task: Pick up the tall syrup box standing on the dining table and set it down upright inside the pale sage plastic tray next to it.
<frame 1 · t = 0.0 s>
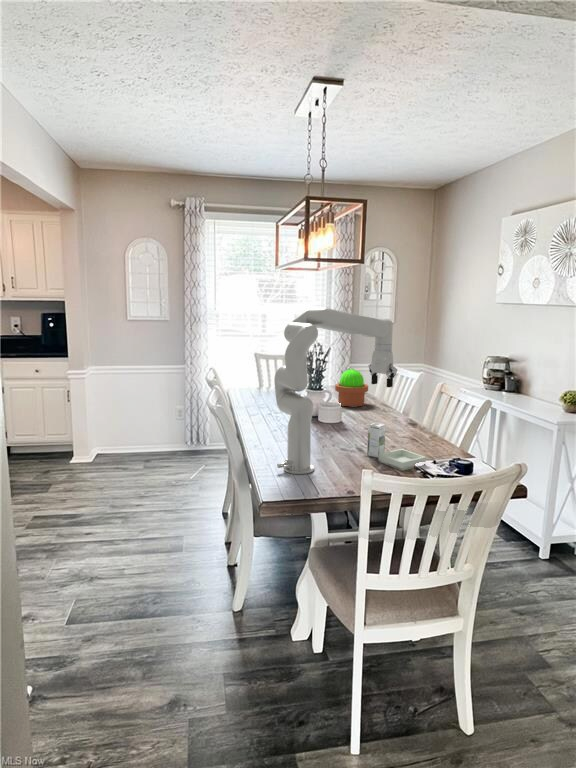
hand: (381, 385, 216), 31 cm above the table, tool pointing down, fingers open, 9 cm apart
potted cactus: (351, 405, 323), on the table
tray: (401, 463, 205), on the table
syrup box: (375, 455, 216), on the table
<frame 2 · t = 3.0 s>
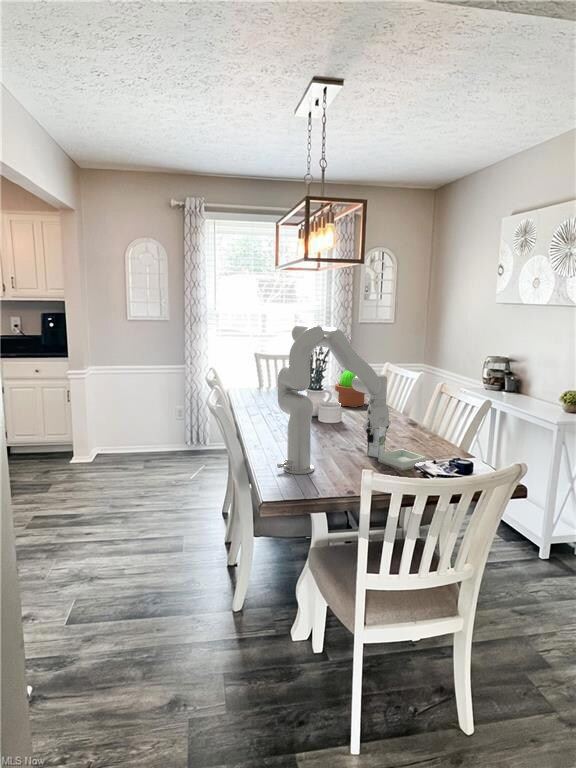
hand: (376, 440, 215), 7 cm above the table, tool pointing down, fingers closed on syrup box, 7 cm apart
syrup box: (375, 455, 216), on the table, touching gripper
everything else where it was.
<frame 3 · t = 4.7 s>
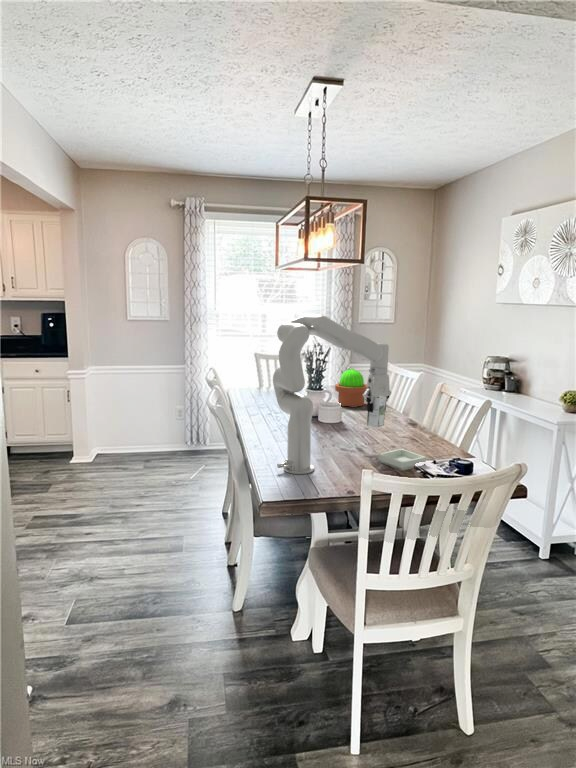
hand: (376, 410, 212), 21 cm above the table, tool pointing down, fingers closed on syrup box, 7 cm apart
syrup box: (375, 425, 213), point 14 cm above the table, touching gripper
everything else where it was.
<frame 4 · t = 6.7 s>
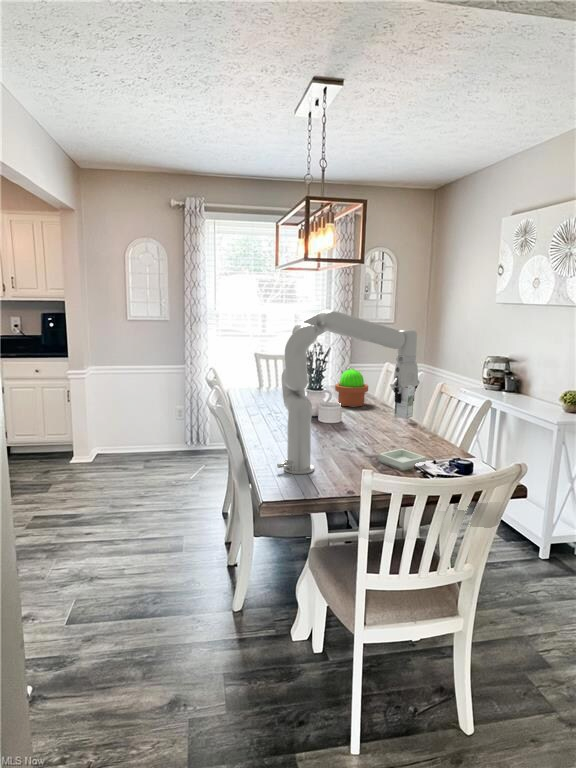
hand: (404, 401, 201), 27 cm above the table, tool pointing down, fingers closed on syrup box, 7 cm apart
syrup box: (403, 417, 202), point 20 cm above the table, touching gripper
everything else where it was.
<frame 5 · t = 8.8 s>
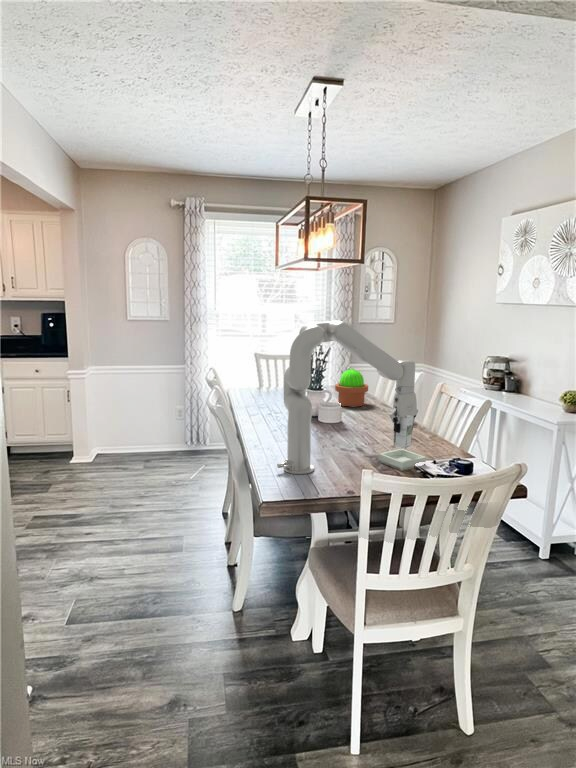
hand: (403, 430, 203), 15 cm above the table, tool pointing down, fingers closed on syrup box, 7 cm apart
syrup box: (402, 446, 204), point 8 cm above the table, touching gripper
everything else where it was.
when the fingers open (9 cm above the table, at t = 10.5 s): syrup box drops 1 cm, resting on tray.
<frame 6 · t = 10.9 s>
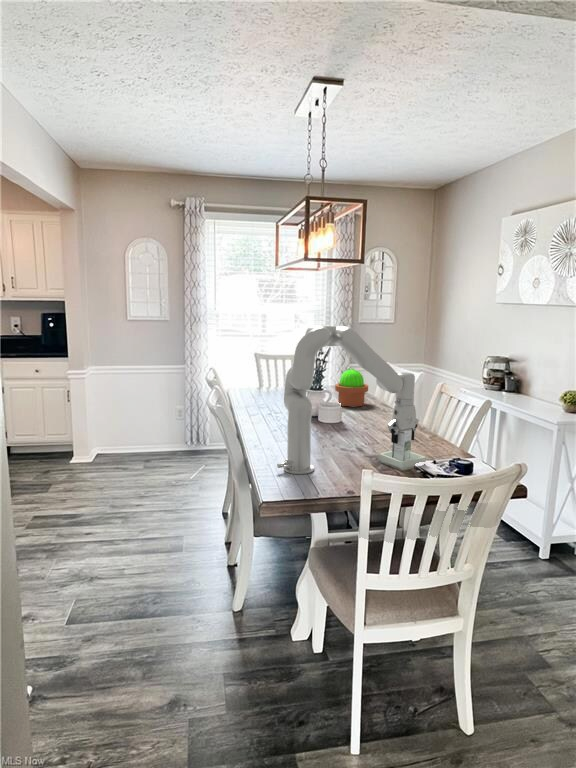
hand: (402, 441, 204), 10 cm above the table, tool pointing down, fingers open, 9 cm apart
syrup box: (401, 461, 205), point 1 cm above the table, touching tray
everything else where it was.
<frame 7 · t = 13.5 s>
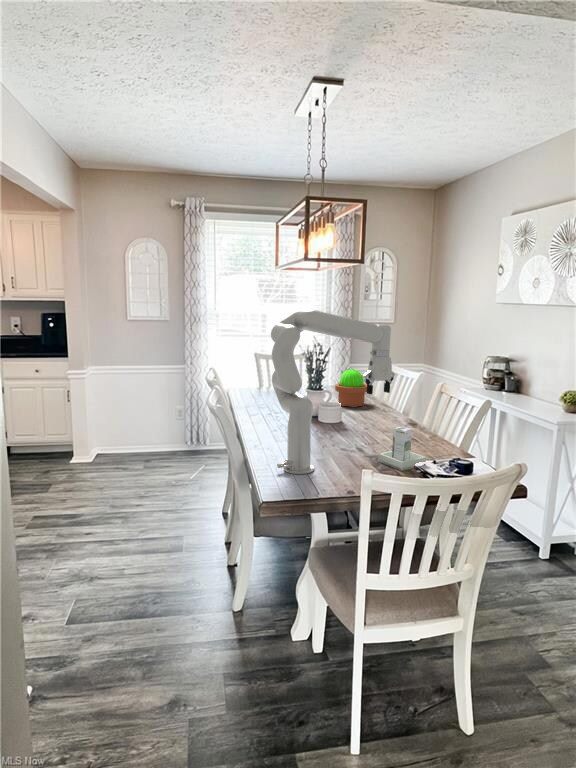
hand: (378, 393, 206), 30 cm above the table, tool pointing down, fingers open, 9 cm apart
nothing on the table moved.
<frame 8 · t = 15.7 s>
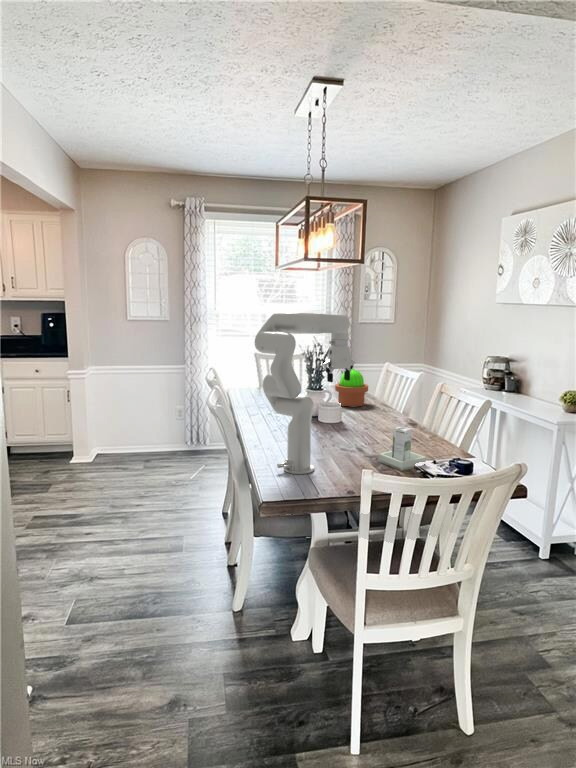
hand: (338, 381, 215), 33 cm above the table, tool pointing down, fingers open, 9 cm apart
nothing on the table moved.
at the end: syrup box inside the target area on the tray (0.4 cm from its centre), point 0.8 cm above the tray's base; syrup box tilted 0°; the gripper is holding nothing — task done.
